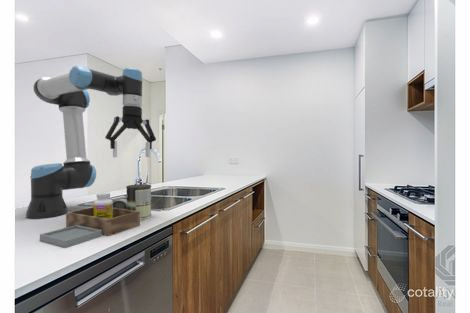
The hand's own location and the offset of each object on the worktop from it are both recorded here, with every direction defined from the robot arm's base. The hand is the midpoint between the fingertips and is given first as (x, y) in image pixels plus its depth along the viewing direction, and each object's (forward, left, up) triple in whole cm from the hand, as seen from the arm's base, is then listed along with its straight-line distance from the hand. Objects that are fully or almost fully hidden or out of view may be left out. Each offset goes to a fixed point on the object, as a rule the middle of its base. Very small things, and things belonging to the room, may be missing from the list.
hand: (131, 157), depth 106 cm
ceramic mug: (-13, +3, -27) cm, 30 cm away
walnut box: (-4, -11, -27) cm, 29 cm away
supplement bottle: (-4, -11, -27) cm, 29 cm away
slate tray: (-1, -25, -27) cm, 37 cm away
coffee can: (-2, +5, -27) cm, 28 cm away
